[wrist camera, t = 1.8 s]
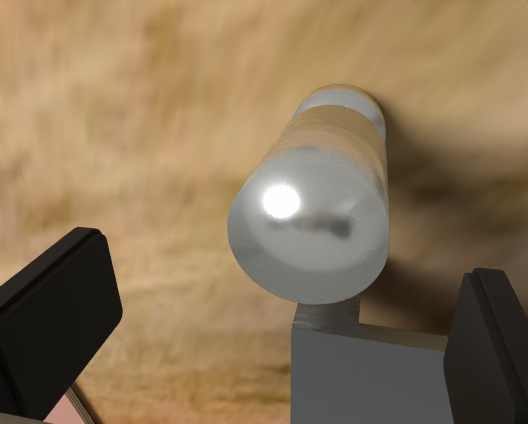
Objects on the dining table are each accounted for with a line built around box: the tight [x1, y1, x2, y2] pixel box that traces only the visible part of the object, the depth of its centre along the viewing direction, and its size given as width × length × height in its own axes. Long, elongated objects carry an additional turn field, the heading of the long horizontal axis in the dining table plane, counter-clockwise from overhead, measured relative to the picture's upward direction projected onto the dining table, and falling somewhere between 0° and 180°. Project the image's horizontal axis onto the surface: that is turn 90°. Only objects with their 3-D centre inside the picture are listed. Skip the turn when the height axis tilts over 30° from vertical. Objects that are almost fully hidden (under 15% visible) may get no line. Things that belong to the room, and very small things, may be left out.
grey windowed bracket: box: [291, 292, 454, 424], centre depth 24 cm, size 22×16×8 cm
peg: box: [228, 84, 390, 304], centre depth 18 cm, size 5×5×12 cm
